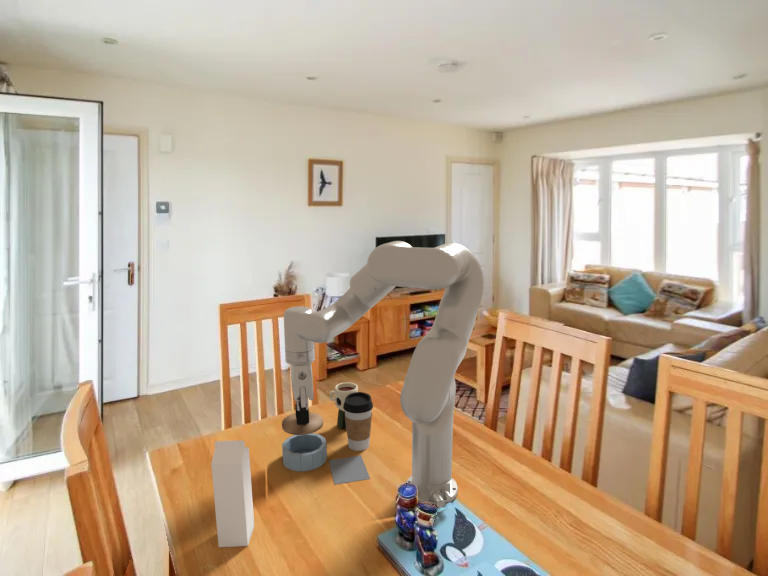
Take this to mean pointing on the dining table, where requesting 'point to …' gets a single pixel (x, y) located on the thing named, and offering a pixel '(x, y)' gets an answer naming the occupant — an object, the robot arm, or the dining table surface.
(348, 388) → the character mug
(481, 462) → the dining table surface
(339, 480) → the mat
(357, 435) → the coffee cup
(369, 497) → the dining table surface
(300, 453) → the bowl
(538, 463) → the dining table surface
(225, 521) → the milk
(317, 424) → the lid
